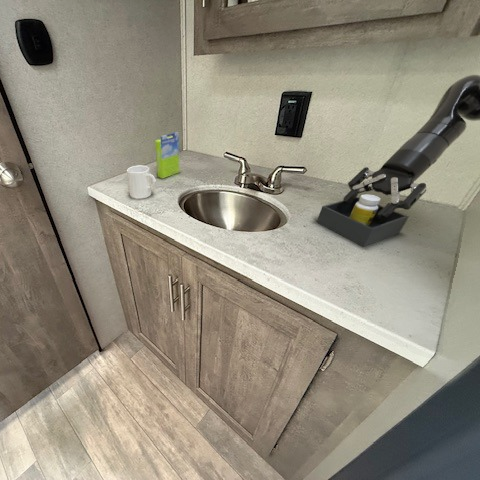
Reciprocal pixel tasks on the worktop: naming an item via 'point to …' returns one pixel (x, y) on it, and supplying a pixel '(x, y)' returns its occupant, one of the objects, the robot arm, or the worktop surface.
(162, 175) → the box
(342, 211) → the bin
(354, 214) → the supplement bottle
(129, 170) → the mug
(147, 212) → the worktop surface
